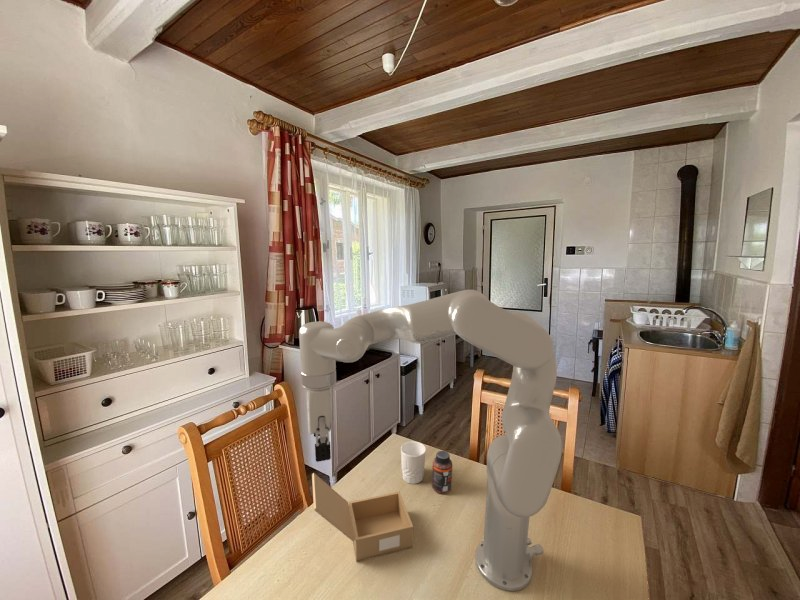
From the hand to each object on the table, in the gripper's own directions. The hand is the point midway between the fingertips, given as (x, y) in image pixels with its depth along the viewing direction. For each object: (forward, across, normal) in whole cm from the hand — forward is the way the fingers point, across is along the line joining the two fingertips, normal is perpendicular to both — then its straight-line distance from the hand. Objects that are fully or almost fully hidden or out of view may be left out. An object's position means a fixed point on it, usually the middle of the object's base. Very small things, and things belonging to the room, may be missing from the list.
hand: (321, 446), depth 79 cm
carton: (+27, 0, +14) cm, 31 cm away
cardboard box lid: (+16, 0, +2) cm, 16 cm away
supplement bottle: (+28, -11, +36) cm, 47 cm away
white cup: (+28, -18, +29) cm, 44 cm away
